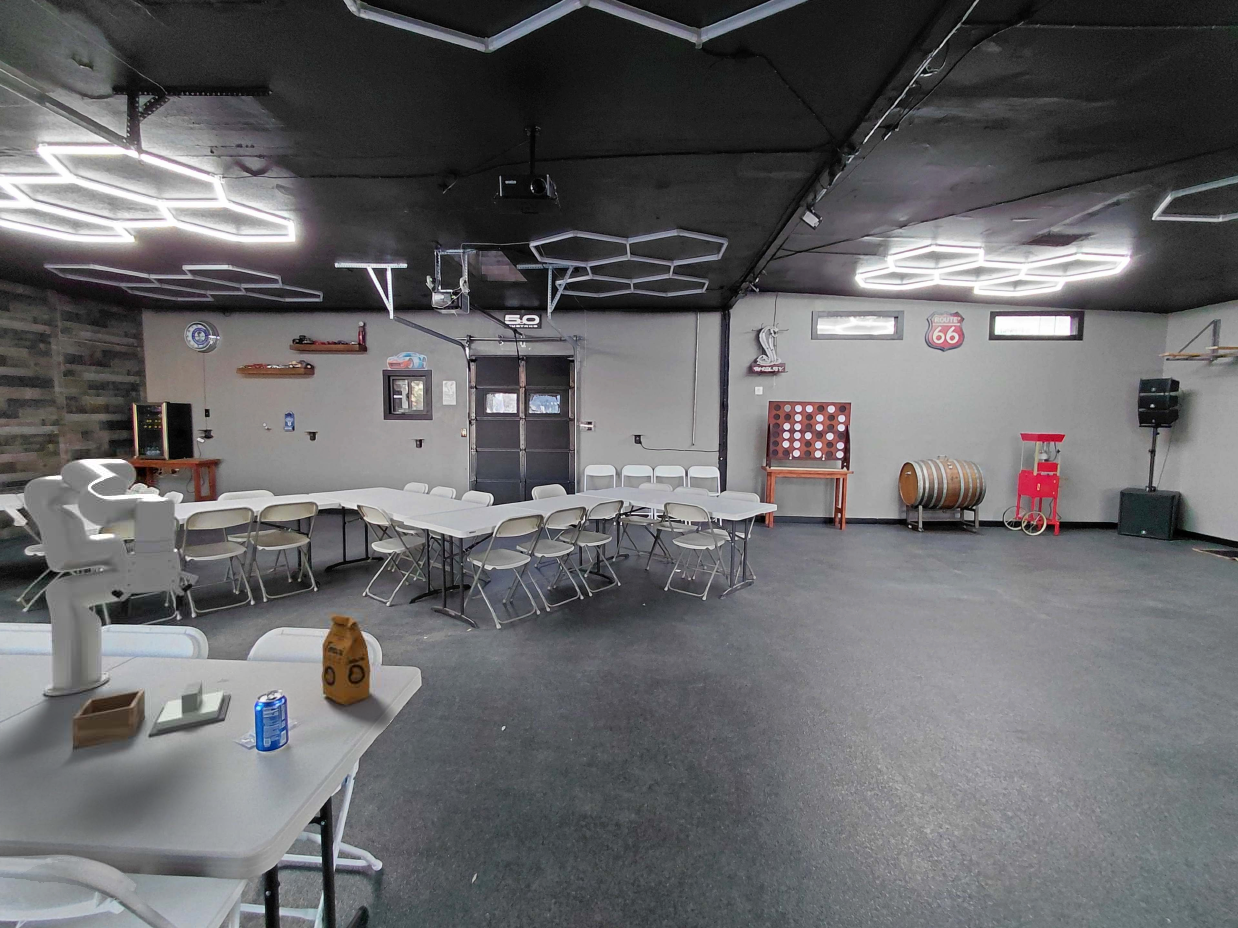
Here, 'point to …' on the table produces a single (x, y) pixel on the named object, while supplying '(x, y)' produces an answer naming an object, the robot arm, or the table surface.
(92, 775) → the table surface
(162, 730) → the mat
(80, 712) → the crate
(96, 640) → the robot arm
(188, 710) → the lid
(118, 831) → the table surface
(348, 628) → the coffee package
